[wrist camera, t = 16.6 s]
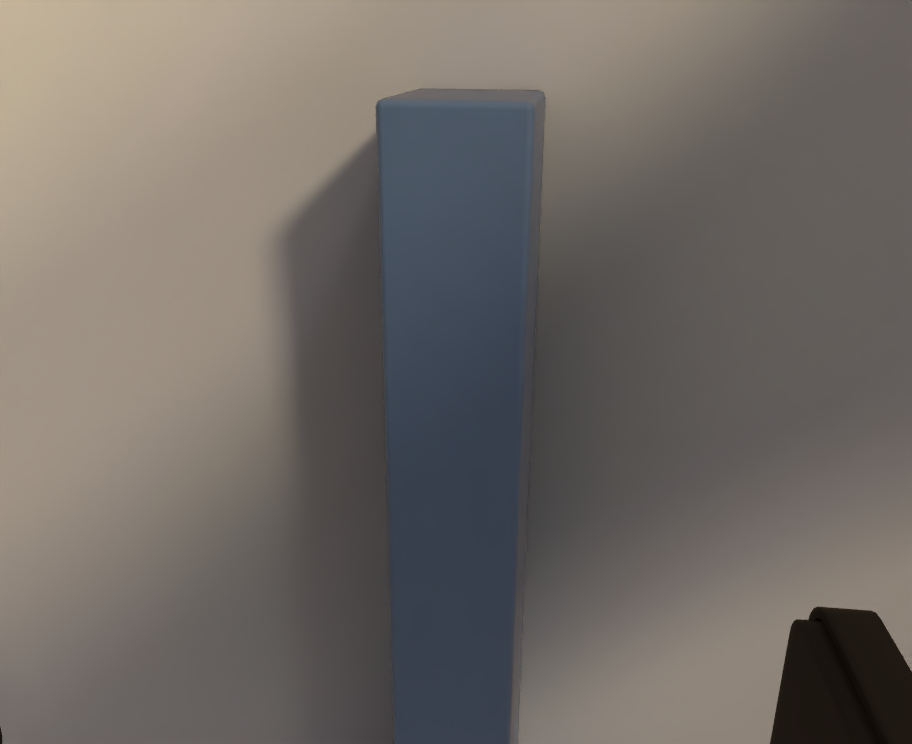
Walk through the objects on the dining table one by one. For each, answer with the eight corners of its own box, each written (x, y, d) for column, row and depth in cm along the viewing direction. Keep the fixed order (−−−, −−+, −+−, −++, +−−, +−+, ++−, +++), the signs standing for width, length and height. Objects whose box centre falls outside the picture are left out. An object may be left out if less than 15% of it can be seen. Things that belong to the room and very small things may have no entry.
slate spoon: (299, 86, 10) (229, 96, 8) (672, 91, 10) (695, 104, 8) (349, 931, 16) (315, 1059, 14) (588, 969, 16) (588, 1107, 14)
